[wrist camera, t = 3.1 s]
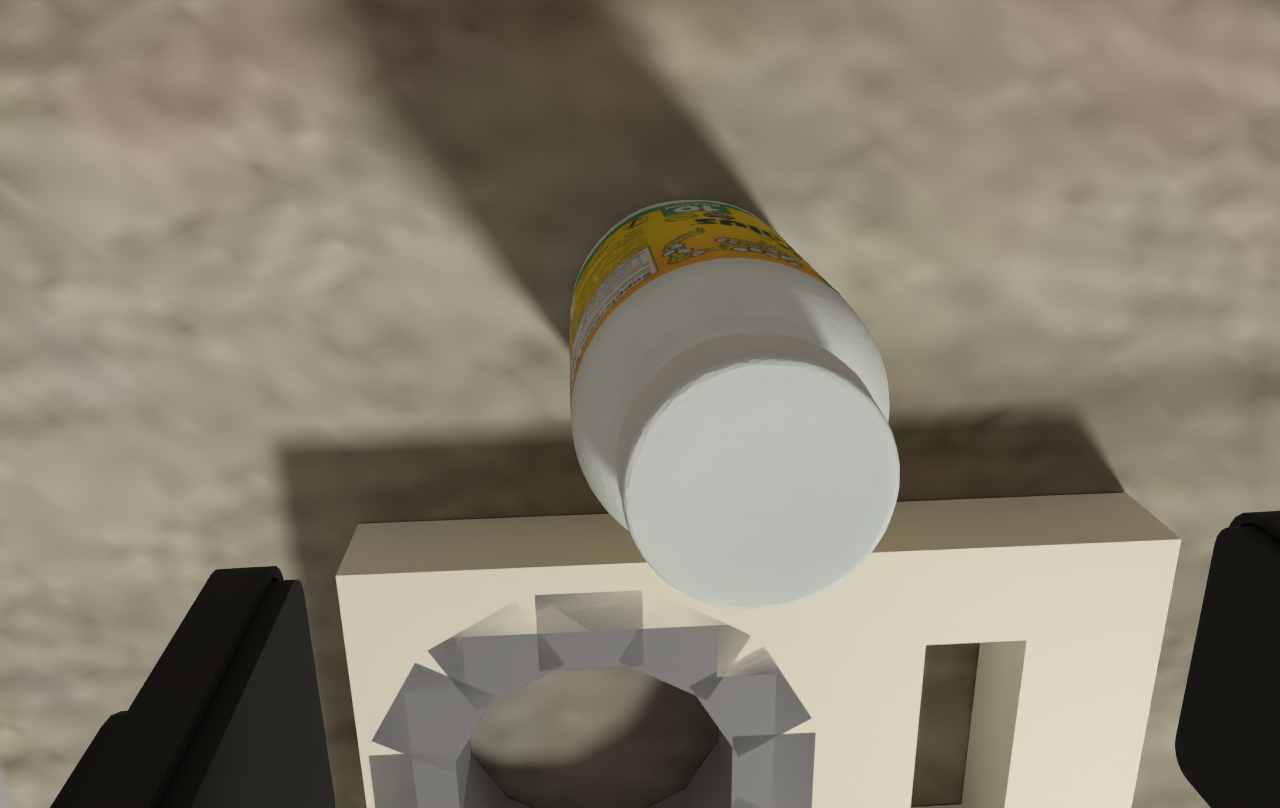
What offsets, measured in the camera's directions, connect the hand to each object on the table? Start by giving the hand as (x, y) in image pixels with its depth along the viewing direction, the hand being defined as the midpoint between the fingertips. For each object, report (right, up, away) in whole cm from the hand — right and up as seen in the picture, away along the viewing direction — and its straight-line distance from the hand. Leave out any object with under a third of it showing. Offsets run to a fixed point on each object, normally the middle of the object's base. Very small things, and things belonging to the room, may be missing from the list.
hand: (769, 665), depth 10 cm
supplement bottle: (0, +5, +13) cm, 14 cm away
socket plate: (+1, -5, +17) cm, 18 cm away
